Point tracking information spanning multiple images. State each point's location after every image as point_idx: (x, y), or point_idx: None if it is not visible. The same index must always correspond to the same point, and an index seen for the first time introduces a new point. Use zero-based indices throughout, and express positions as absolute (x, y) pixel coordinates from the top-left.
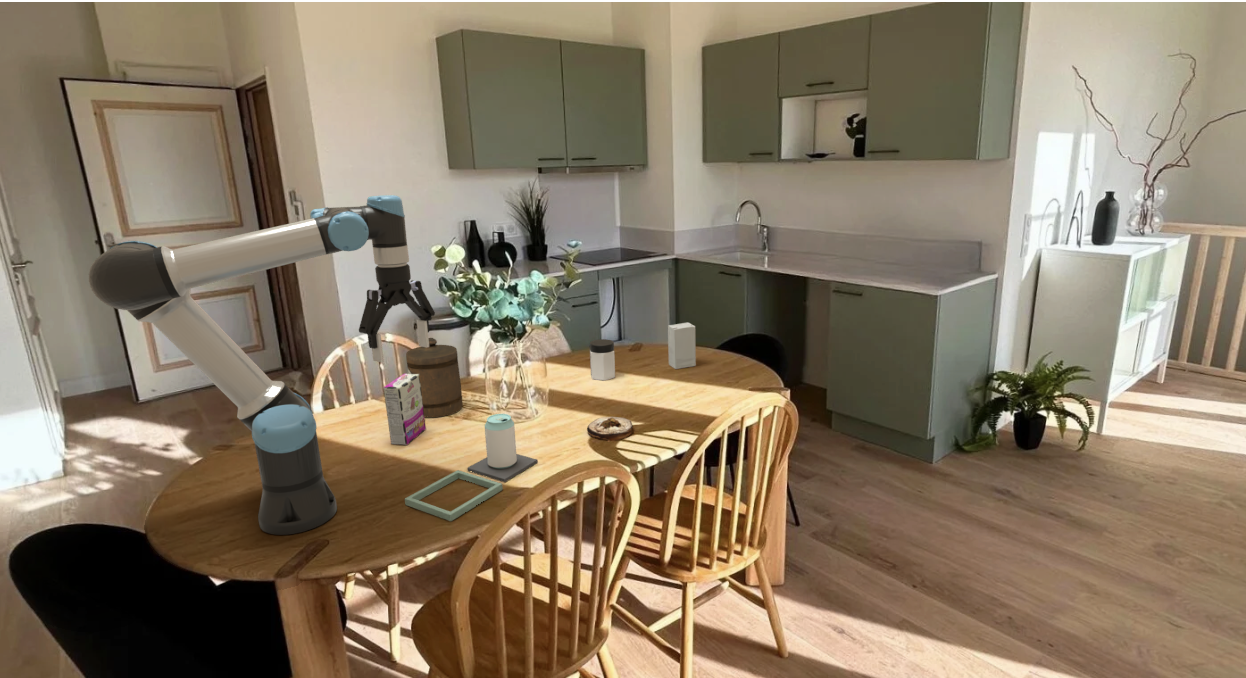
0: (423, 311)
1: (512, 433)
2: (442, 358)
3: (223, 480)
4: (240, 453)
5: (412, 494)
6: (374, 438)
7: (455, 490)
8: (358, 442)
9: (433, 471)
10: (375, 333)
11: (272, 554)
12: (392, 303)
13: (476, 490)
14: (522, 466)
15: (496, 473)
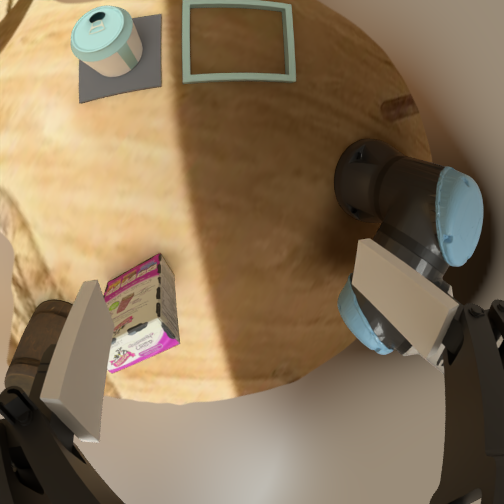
0: (45, 475)
1: (101, 14)
2: (30, 372)
3: None
4: (297, 365)
5: (282, 80)
6: (179, 310)
7: (222, 52)
8: (202, 314)
9: (194, 130)
10: (470, 307)
11: (411, 138)
12: (500, 499)
13: (204, 28)
14: None
15: (151, 35)
